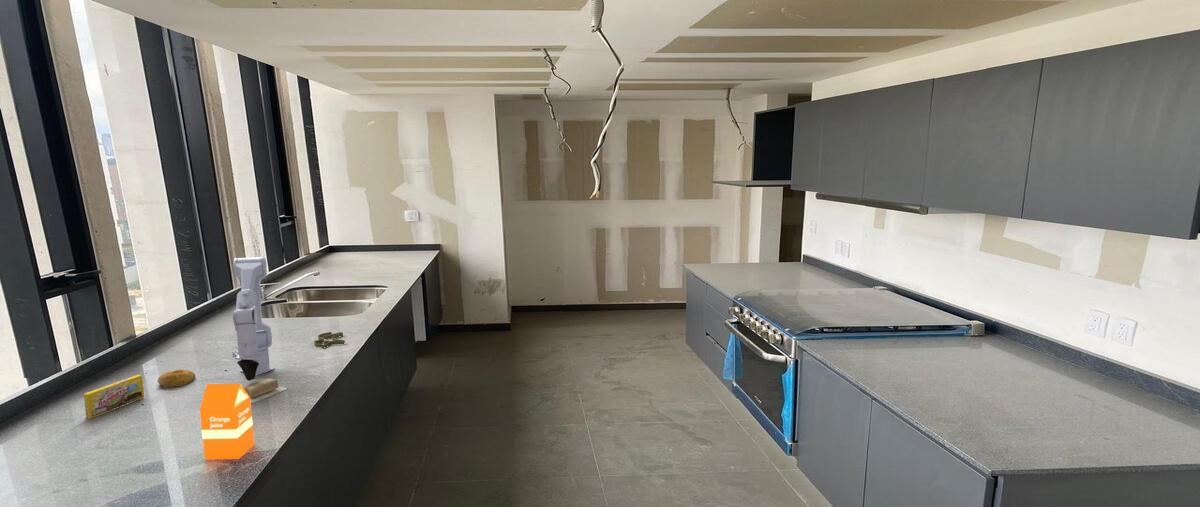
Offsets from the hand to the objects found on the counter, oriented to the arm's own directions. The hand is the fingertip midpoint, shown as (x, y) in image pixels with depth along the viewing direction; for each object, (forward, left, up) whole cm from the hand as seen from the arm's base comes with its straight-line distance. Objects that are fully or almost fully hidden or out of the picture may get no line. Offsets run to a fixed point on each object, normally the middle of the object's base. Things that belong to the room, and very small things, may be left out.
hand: (250, 379), depth 185 cm
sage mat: (+5, 0, -4) cm, 7 cm away
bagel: (-31, -7, -5) cm, 32 cm away
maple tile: (0, 0, -3) cm, 3 cm away
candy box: (-26, -27, -5) cm, 38 cm away
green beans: (-22, +49, -5) cm, 54 cm away
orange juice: (+33, -28, -5) cm, 44 cm away
